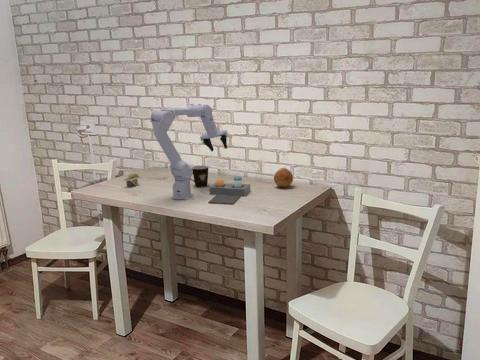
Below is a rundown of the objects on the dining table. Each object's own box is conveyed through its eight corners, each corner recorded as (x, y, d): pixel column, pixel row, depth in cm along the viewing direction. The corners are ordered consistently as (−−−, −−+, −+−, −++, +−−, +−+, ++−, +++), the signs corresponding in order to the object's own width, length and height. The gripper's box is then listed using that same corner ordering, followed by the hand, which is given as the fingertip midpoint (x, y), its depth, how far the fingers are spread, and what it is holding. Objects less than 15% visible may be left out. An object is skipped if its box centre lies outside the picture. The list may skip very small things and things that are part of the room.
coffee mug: (210, 183, 246) (209, 165, 244) (207, 187, 238) (207, 169, 236) (189, 183, 248) (188, 165, 245) (186, 187, 239) (184, 169, 237)
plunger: (222, 189, 226) (222, 181, 225) (215, 189, 227) (215, 181, 226) (224, 187, 229) (224, 180, 228) (218, 187, 230) (217, 179, 229)
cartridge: (241, 194, 224) (240, 178, 222) (233, 194, 225) (232, 178, 223) (243, 192, 227) (242, 176, 225) (235, 192, 228) (234, 176, 226)
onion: (270, 186, 237) (270, 167, 235) (287, 183, 241) (287, 165, 238) (278, 190, 229) (278, 171, 226) (296, 188, 232) (296, 168, 230)
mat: (233, 204, 207) (233, 203, 207) (208, 203, 211) (208, 202, 210) (240, 197, 219) (240, 196, 218) (216, 196, 222) (216, 195, 222)
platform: (153, 184, 251) (152, 172, 249) (129, 192, 236) (128, 179, 234) (137, 182, 257) (136, 170, 255) (113, 189, 242) (111, 177, 241)
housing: (245, 196, 220) (245, 189, 219) (209, 194, 225) (208, 187, 224) (250, 190, 229) (250, 184, 228) (215, 189, 234) (215, 182, 233)
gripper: (225, 119, 230) (233, 142, 237) (199, 125, 235) (208, 147, 242) (222, 126, 224) (231, 149, 231) (195, 132, 229) (205, 154, 236)
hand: (219, 149), depth 236 cm, fingers open, 7 cm apart
